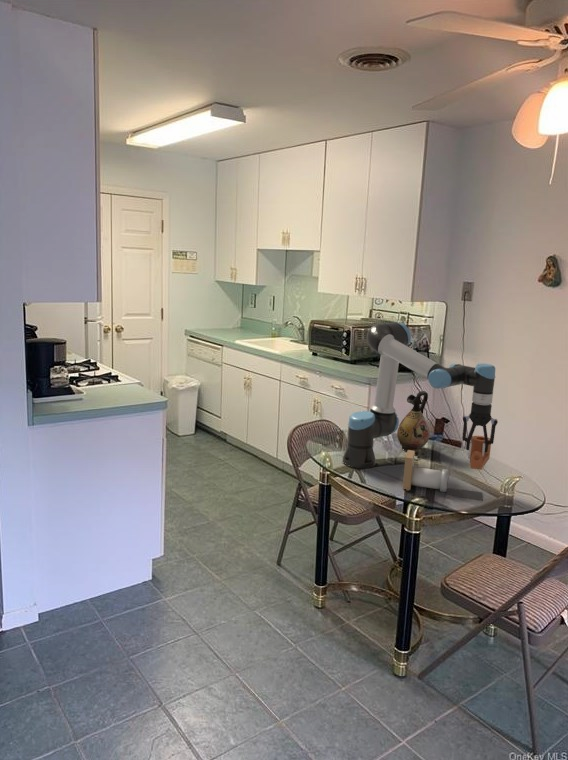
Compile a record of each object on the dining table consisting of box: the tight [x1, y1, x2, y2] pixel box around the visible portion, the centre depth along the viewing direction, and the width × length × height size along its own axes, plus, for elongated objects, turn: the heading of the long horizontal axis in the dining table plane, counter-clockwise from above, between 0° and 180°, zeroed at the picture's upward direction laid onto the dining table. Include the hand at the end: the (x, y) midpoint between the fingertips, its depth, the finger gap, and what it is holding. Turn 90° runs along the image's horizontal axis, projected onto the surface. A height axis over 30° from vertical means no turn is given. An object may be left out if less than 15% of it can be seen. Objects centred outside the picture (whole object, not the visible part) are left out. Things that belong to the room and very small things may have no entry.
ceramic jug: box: [396, 390, 430, 453], centre depth 285 cm, size 17×15×30 cm
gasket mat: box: [446, 486, 484, 502], centre depth 235 cm, size 14×8×1 cm, turn 73°
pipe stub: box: [402, 450, 449, 493], centre depth 238 cm, size 17×10×14 cm, turn 73°
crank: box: [469, 435, 492, 471], centre depth 232 cm, size 20×8×8 cm
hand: (475, 458), depth 234 cm, fingers closed on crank, 4 cm apart
